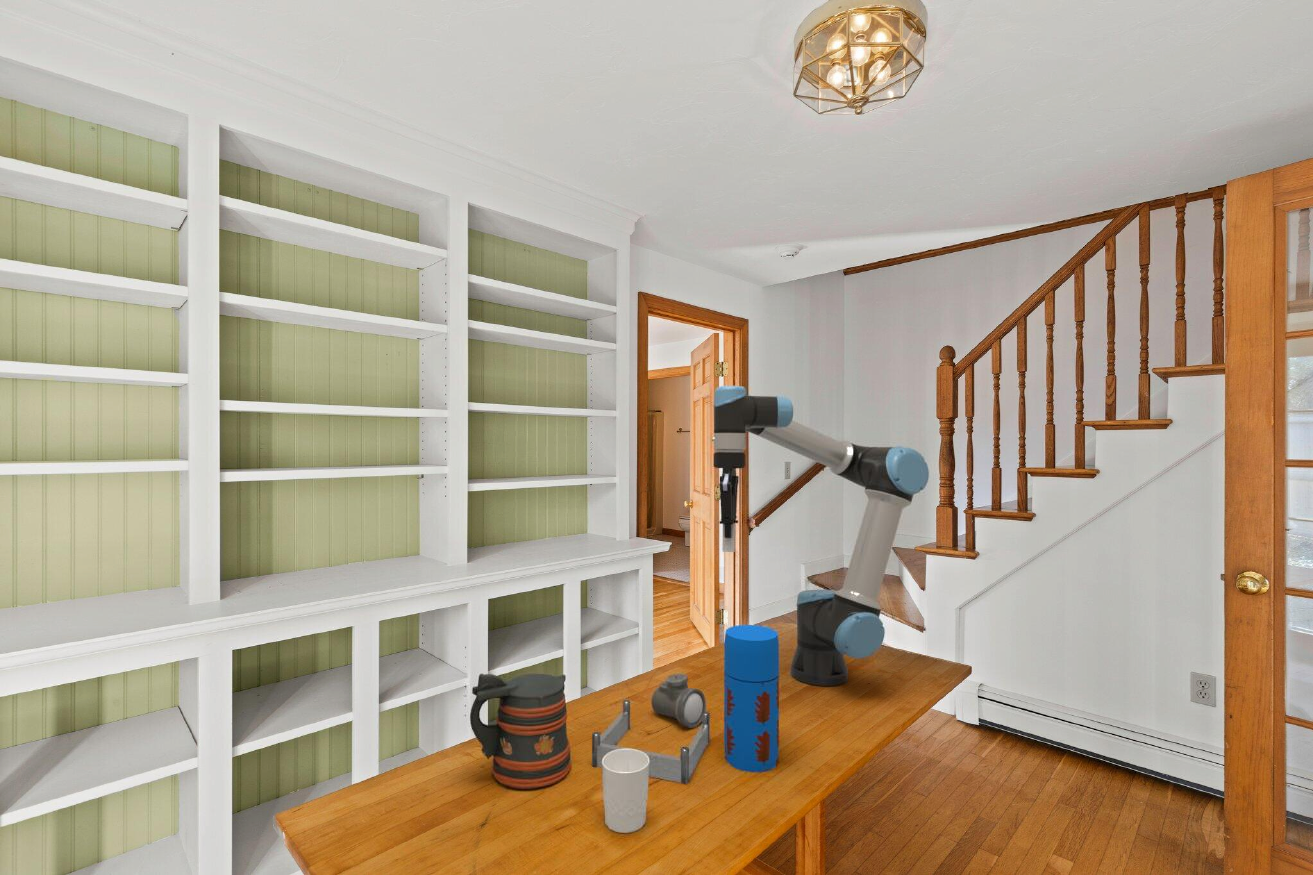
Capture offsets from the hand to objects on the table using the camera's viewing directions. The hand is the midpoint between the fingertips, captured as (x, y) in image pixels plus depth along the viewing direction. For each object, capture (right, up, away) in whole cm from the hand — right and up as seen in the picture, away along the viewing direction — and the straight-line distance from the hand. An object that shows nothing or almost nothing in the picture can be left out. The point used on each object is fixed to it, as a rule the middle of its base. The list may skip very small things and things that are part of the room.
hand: (728, 551), depth 143 cm
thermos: (+2, -37, -22) cm, 44 cm away
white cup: (-22, -37, -43) cm, 61 cm away
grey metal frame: (-18, -37, -20) cm, 46 cm away
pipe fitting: (-12, -38, -5) cm, 40 cm away
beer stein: (-43, -37, -28) cm, 63 cm away
